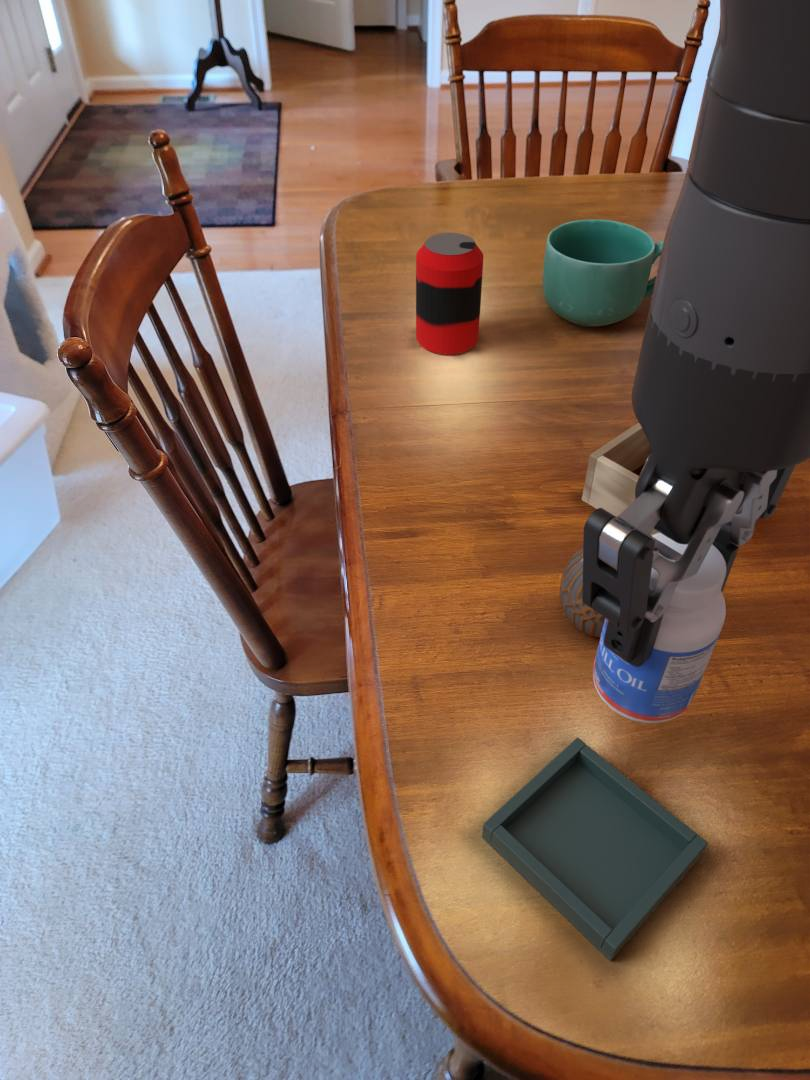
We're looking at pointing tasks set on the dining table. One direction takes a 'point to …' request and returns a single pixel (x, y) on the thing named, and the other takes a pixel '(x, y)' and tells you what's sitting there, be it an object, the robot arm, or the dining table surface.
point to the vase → (578, 598)
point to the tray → (594, 845)
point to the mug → (598, 270)
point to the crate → (616, 471)
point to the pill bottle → (668, 648)
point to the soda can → (448, 293)
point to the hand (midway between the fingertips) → (663, 619)
